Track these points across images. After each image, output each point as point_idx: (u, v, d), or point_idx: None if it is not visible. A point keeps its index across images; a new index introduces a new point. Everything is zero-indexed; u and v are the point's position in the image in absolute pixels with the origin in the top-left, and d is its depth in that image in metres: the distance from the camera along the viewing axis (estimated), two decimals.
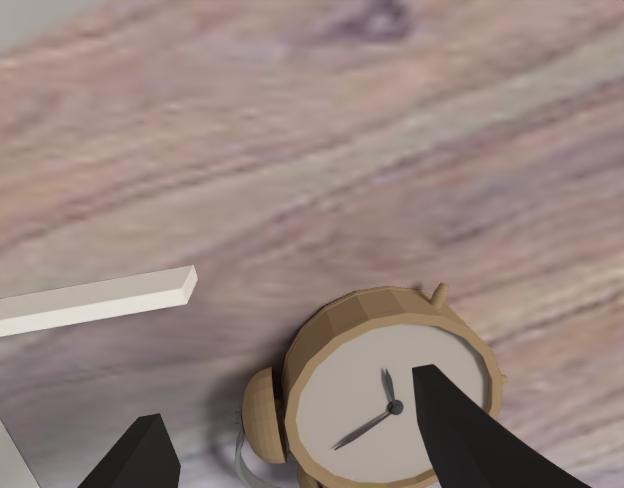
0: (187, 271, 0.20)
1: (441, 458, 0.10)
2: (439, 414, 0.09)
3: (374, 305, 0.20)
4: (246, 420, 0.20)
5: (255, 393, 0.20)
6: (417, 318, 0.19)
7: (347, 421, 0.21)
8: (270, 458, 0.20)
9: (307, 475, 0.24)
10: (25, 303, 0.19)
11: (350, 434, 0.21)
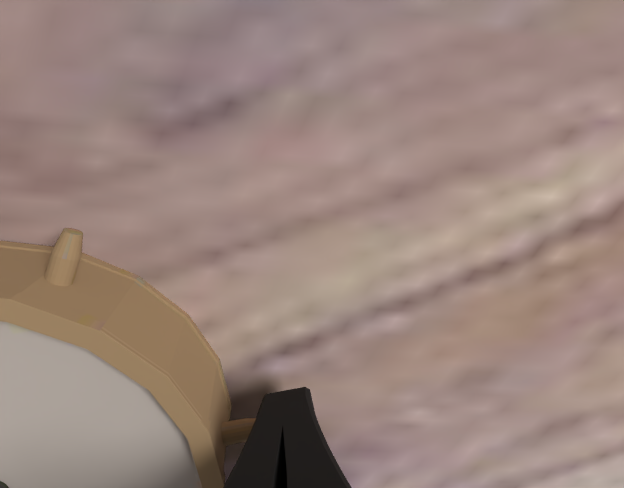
0: None
1: None
2: (285, 442, 0.09)
3: None
4: None
5: None
6: None
7: None
8: None
9: None
10: None
11: None
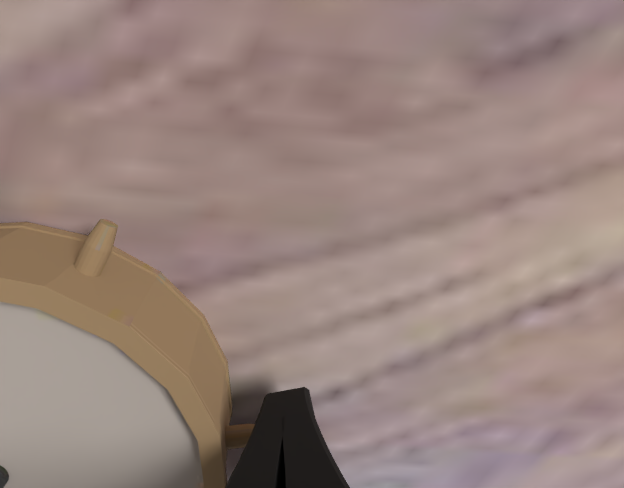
0: None
1: None
2: (284, 442, 0.09)
3: None
4: None
5: None
6: None
7: None
8: None
9: None
10: None
11: None
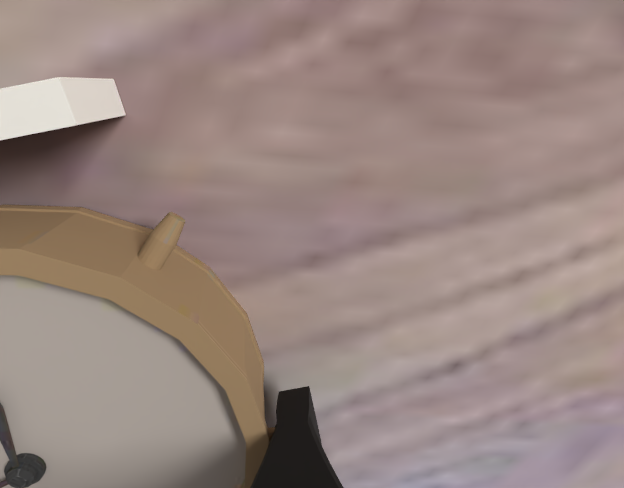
0: (92, 79, 0.09)
1: None
2: (279, 443, 0.09)
3: None
4: None
5: None
6: (51, 270, 0.08)
7: None
8: None
9: None
10: None
11: None
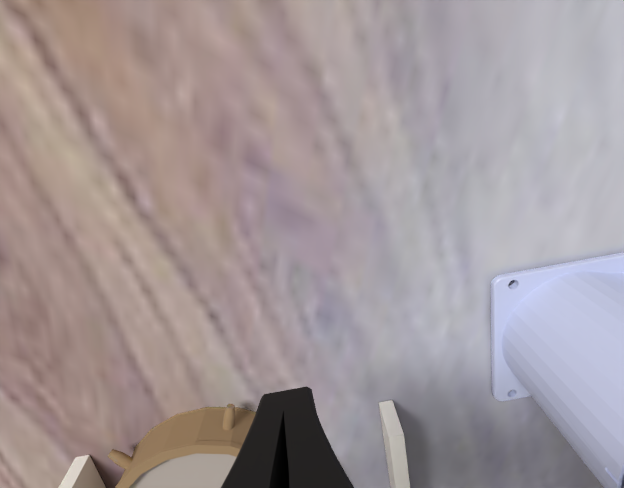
0: (70, 470, 0.23)
1: None
2: (287, 441, 0.09)
3: None
4: None
5: None
6: None
7: None
8: None
9: None
10: None
11: None
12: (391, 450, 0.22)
